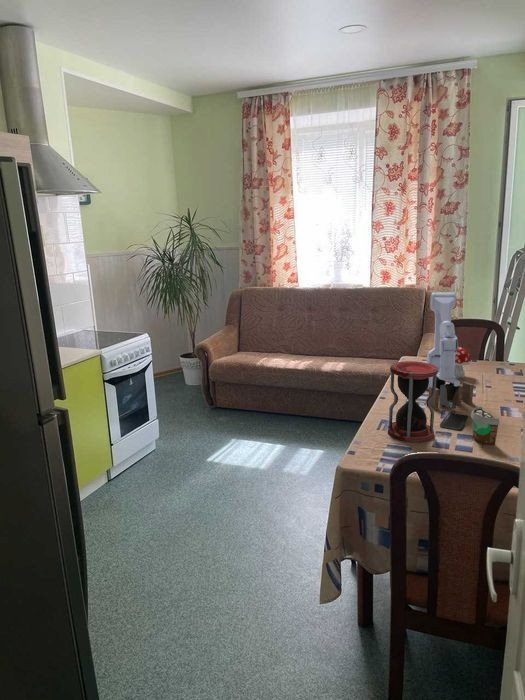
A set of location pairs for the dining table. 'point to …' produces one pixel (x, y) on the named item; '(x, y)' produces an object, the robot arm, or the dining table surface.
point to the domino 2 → (443, 396)
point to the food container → (484, 426)
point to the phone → (454, 421)
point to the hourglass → (412, 401)
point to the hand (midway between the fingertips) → (444, 397)
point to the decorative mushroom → (461, 362)
